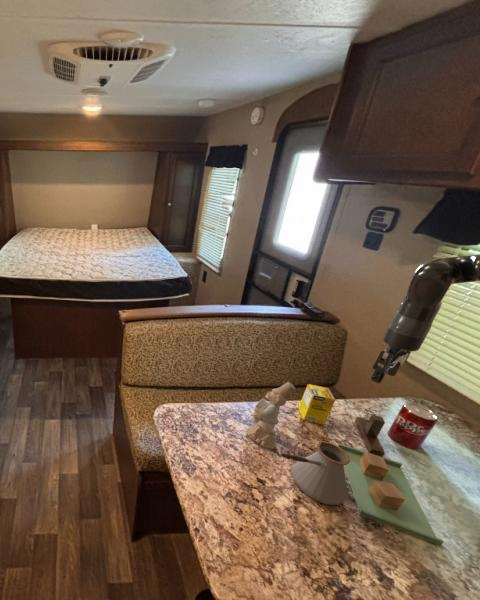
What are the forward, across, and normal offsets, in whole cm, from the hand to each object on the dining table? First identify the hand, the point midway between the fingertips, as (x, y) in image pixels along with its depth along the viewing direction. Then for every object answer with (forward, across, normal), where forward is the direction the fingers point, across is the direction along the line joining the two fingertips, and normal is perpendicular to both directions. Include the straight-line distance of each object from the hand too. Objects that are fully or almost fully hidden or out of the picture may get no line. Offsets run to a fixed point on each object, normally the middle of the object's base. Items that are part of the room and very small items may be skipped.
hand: (382, 377), depth 93 cm
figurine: (+19, -34, +10) cm, 40 cm away
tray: (+19, -22, -15) cm, 32 cm away
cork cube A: (+18, -18, -11) cm, 28 cm away
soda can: (+19, +5, -9) cm, 22 cm away
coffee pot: (+19, -41, -6) cm, 46 cm away
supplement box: (+19, -12, +8) cm, 24 cm away
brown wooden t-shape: (+19, -5, -4) cm, 20 cm away
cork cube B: (+18, -25, -16) cm, 35 cm away
